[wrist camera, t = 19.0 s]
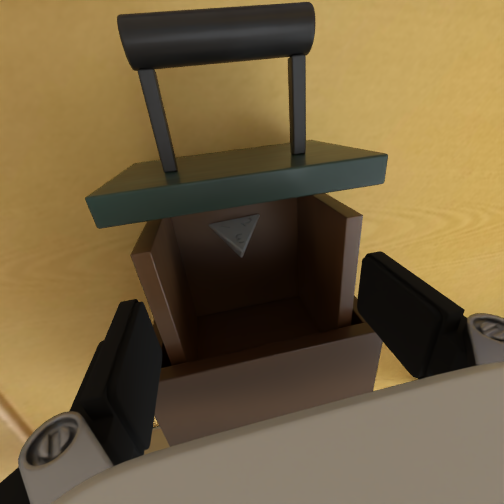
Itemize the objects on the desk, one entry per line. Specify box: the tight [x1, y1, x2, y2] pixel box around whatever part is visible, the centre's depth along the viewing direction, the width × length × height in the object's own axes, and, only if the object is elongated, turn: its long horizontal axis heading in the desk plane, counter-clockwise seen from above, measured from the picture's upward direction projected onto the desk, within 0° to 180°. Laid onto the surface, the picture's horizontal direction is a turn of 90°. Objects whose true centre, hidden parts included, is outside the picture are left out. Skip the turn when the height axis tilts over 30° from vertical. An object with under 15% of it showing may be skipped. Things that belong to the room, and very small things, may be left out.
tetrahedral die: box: [209, 214, 260, 257], centre depth 17 cm, size 4×3×3 cm
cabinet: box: [153, 296, 383, 447], centre depth 20 cm, size 14×13×10 cm
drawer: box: [85, 2, 388, 366], centre depth 14 cm, size 18×11×8 cm, turn 6°
